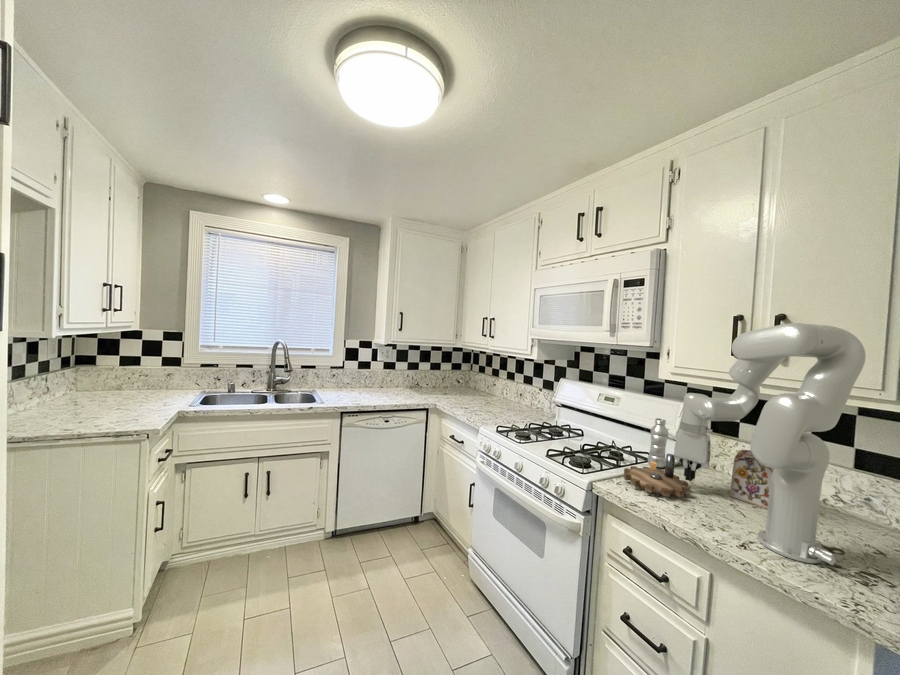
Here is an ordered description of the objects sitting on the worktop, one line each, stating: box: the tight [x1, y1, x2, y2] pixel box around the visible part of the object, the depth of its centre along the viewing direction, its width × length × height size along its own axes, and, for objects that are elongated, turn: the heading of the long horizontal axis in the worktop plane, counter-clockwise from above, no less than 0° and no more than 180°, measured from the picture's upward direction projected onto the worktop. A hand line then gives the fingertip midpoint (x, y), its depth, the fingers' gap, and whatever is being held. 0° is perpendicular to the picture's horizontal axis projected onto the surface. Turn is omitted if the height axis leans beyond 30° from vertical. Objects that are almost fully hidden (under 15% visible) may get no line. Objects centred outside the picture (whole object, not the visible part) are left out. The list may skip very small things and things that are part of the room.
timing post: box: [649, 461, 657, 470], centre depth 139 cm, size 2×2×5 cm
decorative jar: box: [729, 449, 774, 511], centre depth 123 cm, size 12×12×18 cm
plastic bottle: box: [647, 417, 669, 468], centre depth 149 cm, size 6×7×20 cm
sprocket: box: [623, 453, 691, 498], centre depth 128 cm, size 21×21×10 cm
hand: (689, 479), depth 125 cm, fingers closed
